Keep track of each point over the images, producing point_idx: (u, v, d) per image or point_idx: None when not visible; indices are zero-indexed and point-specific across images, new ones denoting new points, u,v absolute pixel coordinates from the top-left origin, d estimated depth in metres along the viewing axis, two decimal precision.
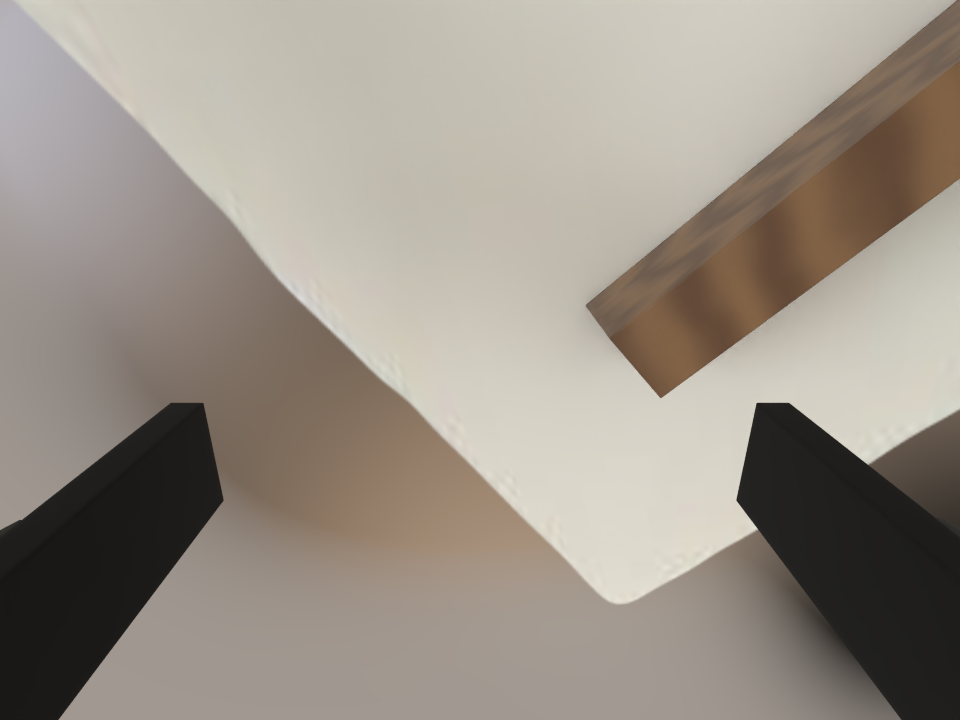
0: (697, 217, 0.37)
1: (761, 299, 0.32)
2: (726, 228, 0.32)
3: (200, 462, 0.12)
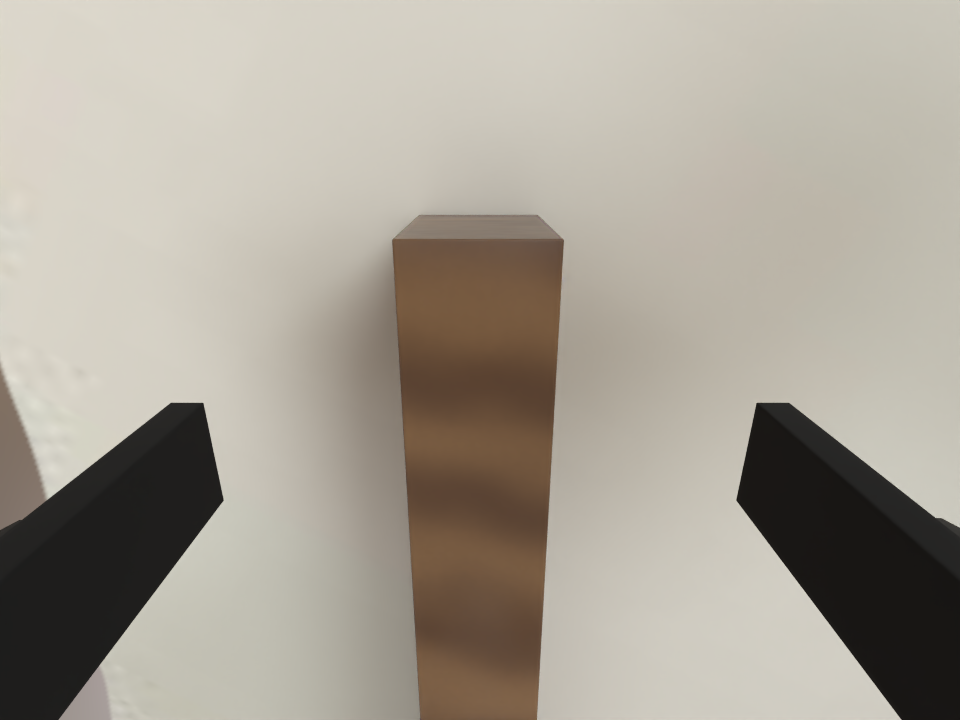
0: None
1: (441, 462, 0.20)
2: None
3: (200, 462, 0.12)
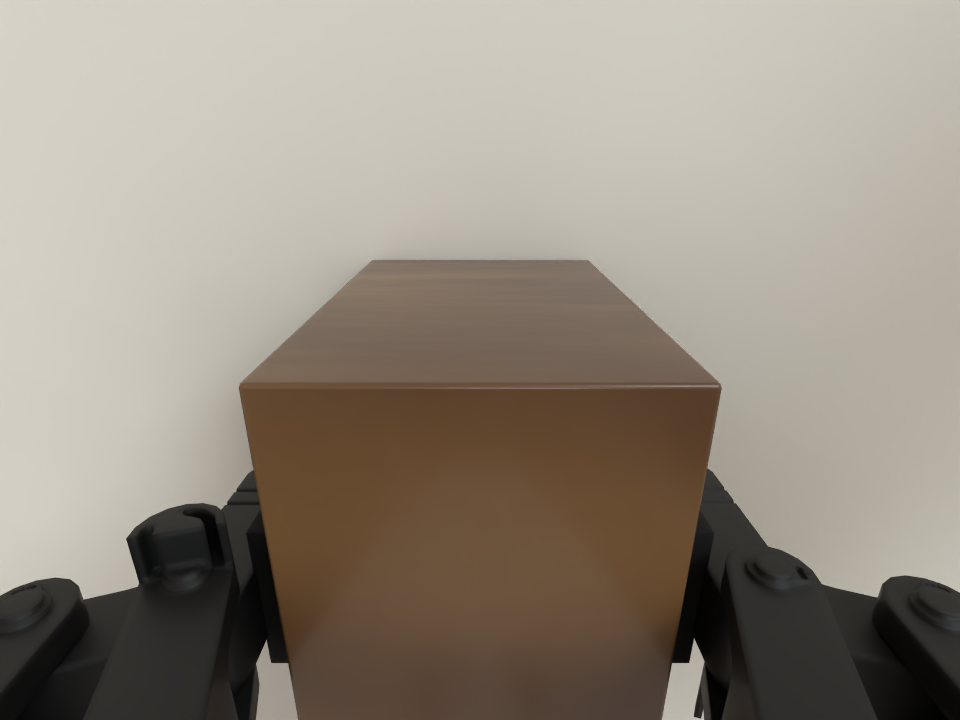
0: None
1: None
2: None
3: None
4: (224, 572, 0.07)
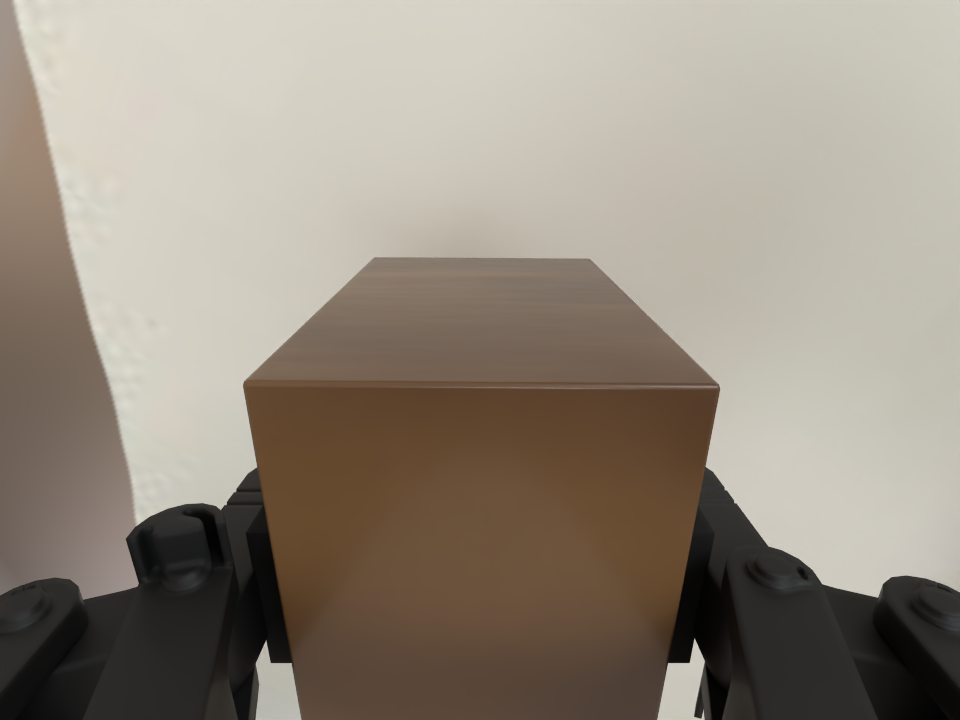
0: None
1: None
2: None
3: None
4: (224, 572, 0.07)
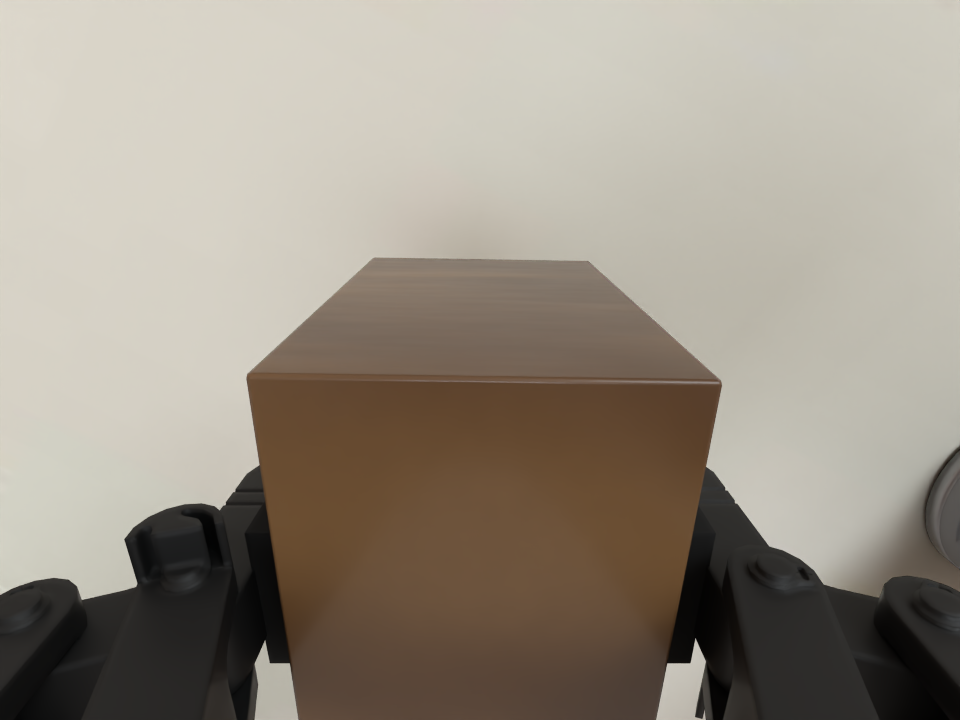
0: None
1: None
2: None
3: None
4: (222, 572, 0.07)
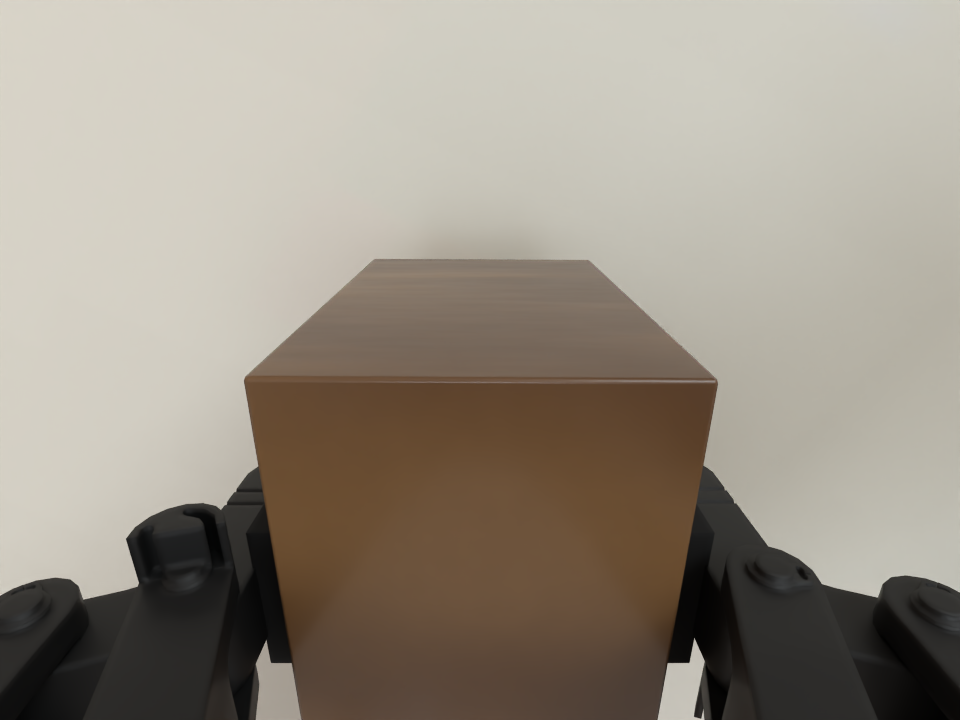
0: None
1: None
2: None
3: None
4: (224, 572, 0.07)
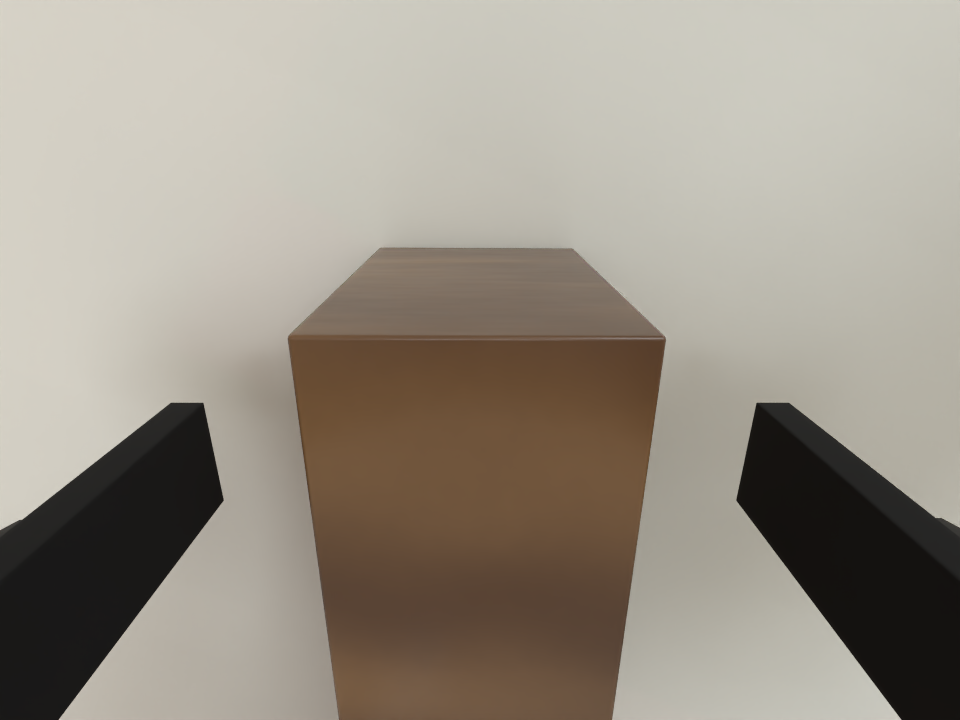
0: None
1: None
2: None
3: (200, 462, 0.12)
4: None
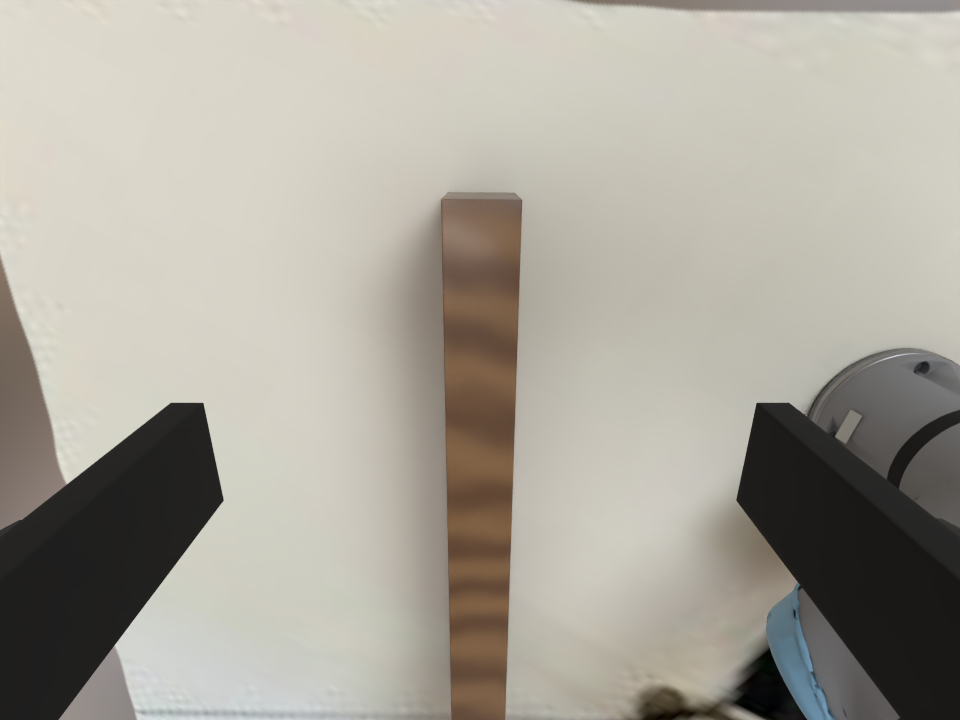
0: None
1: (461, 316, 0.39)
2: None
3: (200, 462, 0.12)
4: None
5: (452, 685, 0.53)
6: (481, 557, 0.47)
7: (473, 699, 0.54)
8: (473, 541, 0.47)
